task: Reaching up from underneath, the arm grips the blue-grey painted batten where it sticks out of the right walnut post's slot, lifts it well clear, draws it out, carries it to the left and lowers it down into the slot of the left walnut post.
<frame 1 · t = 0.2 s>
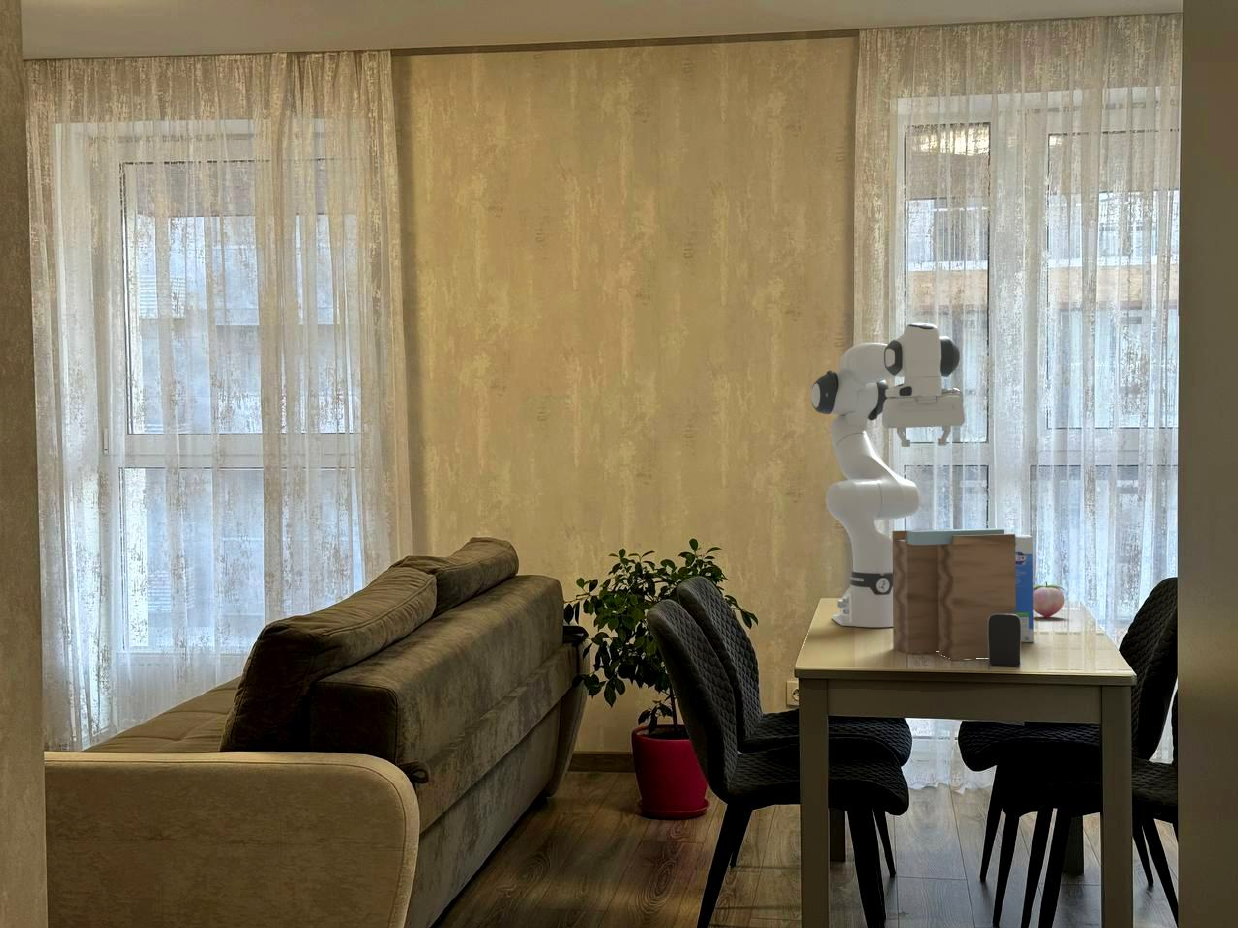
hand: (924, 446, 310), 48 cm above the table, tool pointing down, fingers open, 8 cm apart
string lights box: (1004, 640, 313), on the table
right post: (977, 656, 291), on the table
left post: (930, 649, 301), on the table
batten: (955, 543, 289), point 26 cm above the table, touching right post
decorative fruit: (1046, 618, 351), on the table
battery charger: (1004, 665, 279), on the table
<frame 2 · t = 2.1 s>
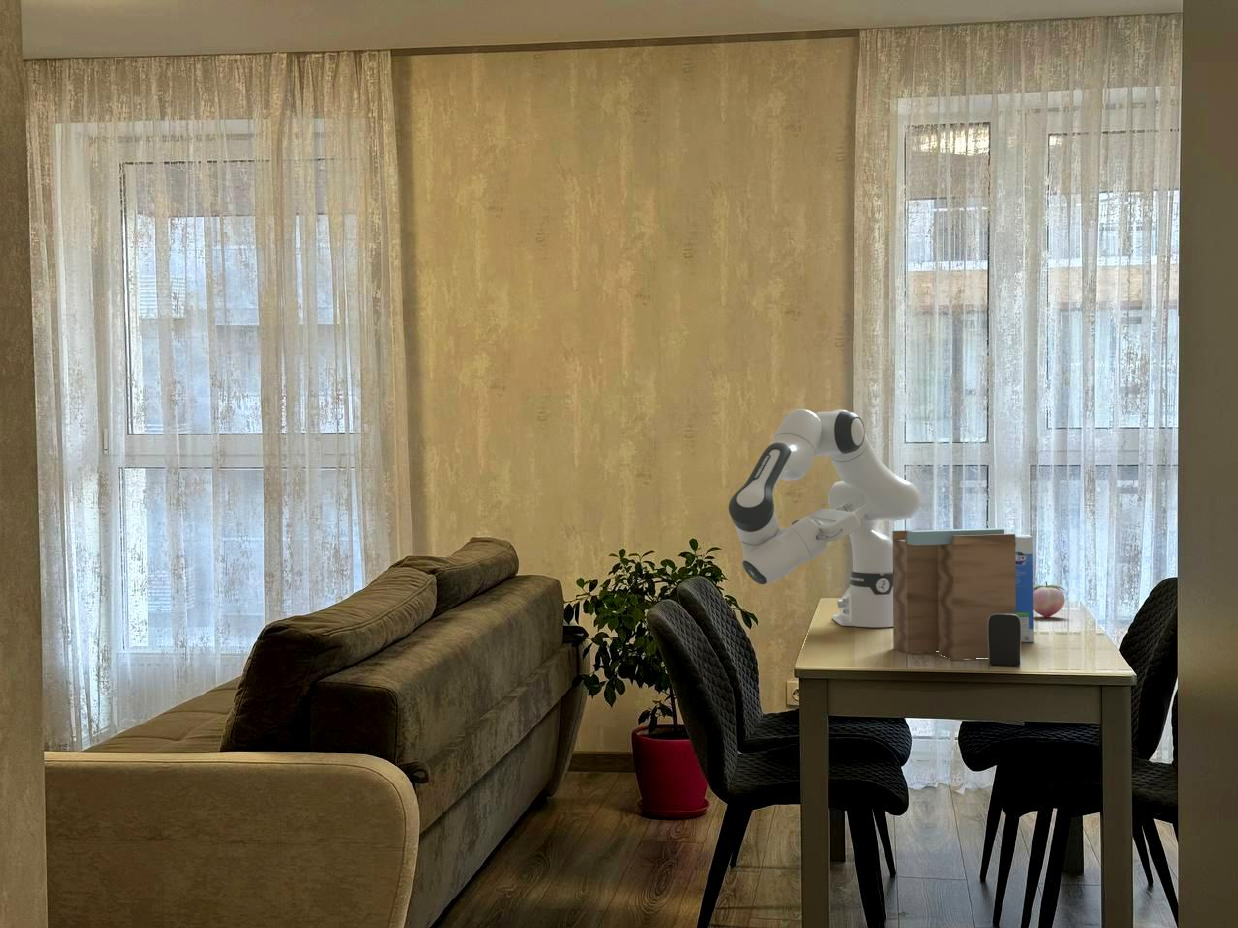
hand: (859, 505, 291), 35 cm above the table, tool pointing upward, fingers open, 8 cm apart
nothing on the table moved.
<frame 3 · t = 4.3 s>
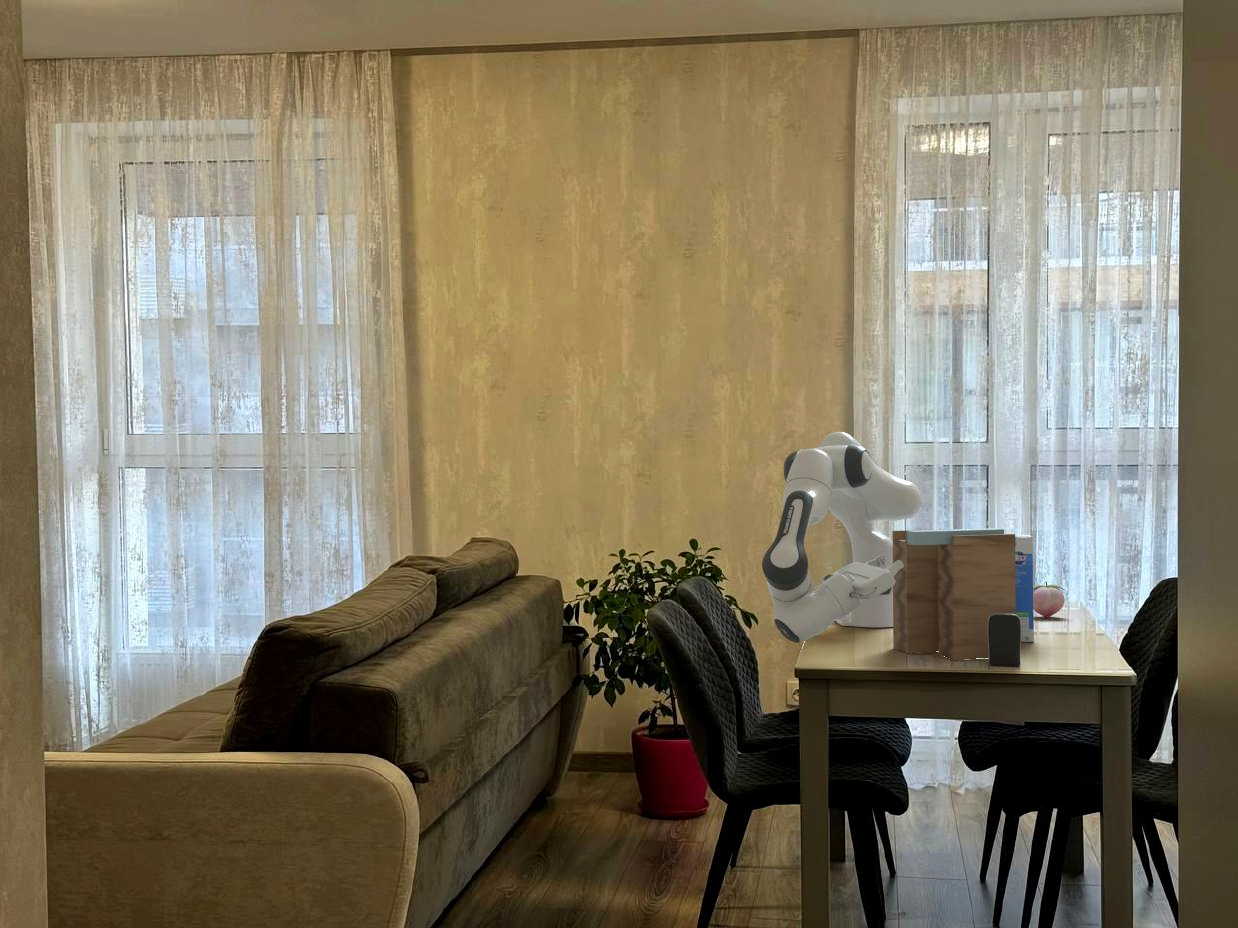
hand: (892, 560, 286), 23 cm above the table, tool pointing upward, fingers open, 8 cm apart
nothing on the table moved.
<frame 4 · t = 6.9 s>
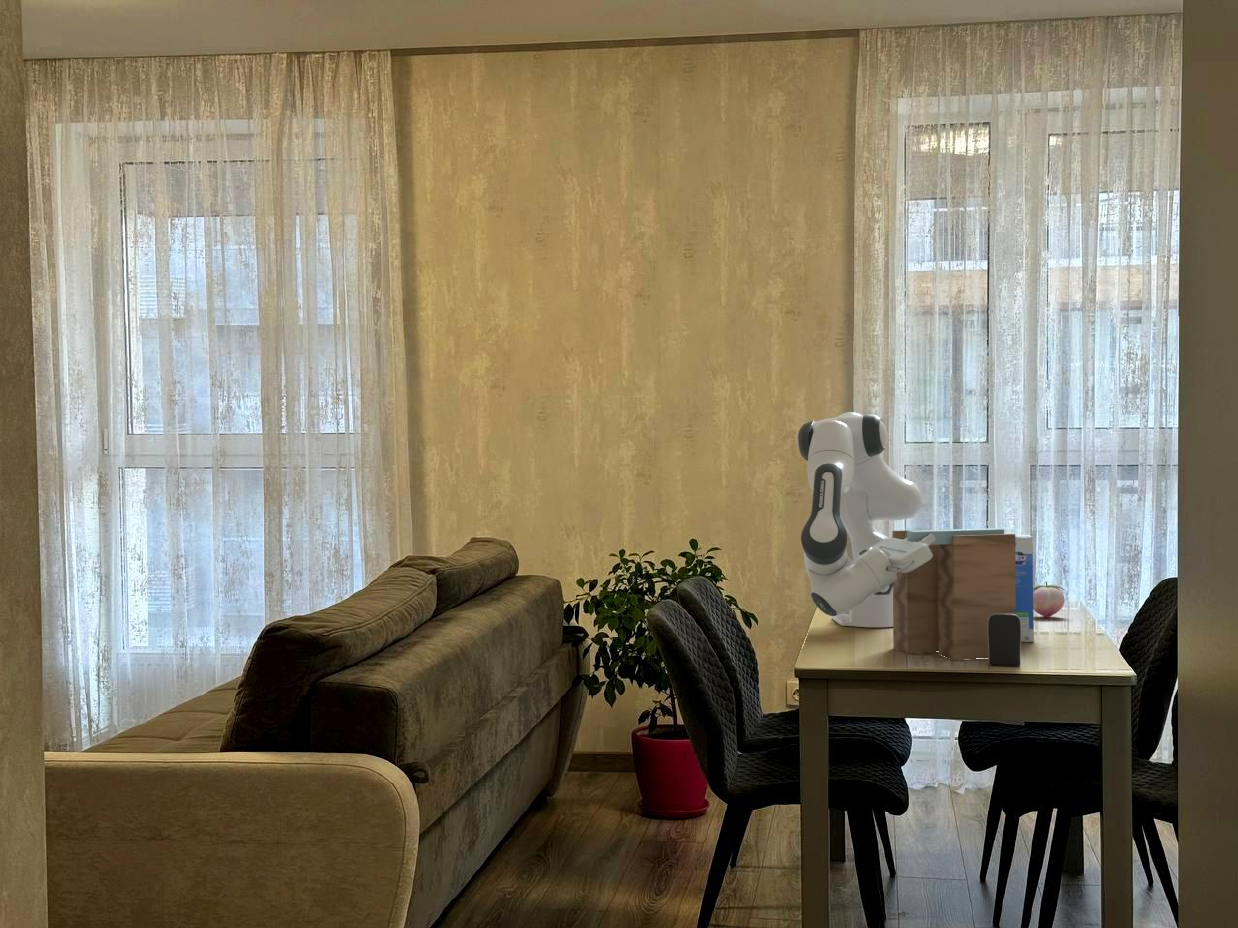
hand: (928, 535, 288), 28 cm above the table, tool pointing upward, fingers closed on batten, 3 cm apart
batten: (956, 543, 289), point 26 cm above the table, touching gripper, right post
everything else where it was.
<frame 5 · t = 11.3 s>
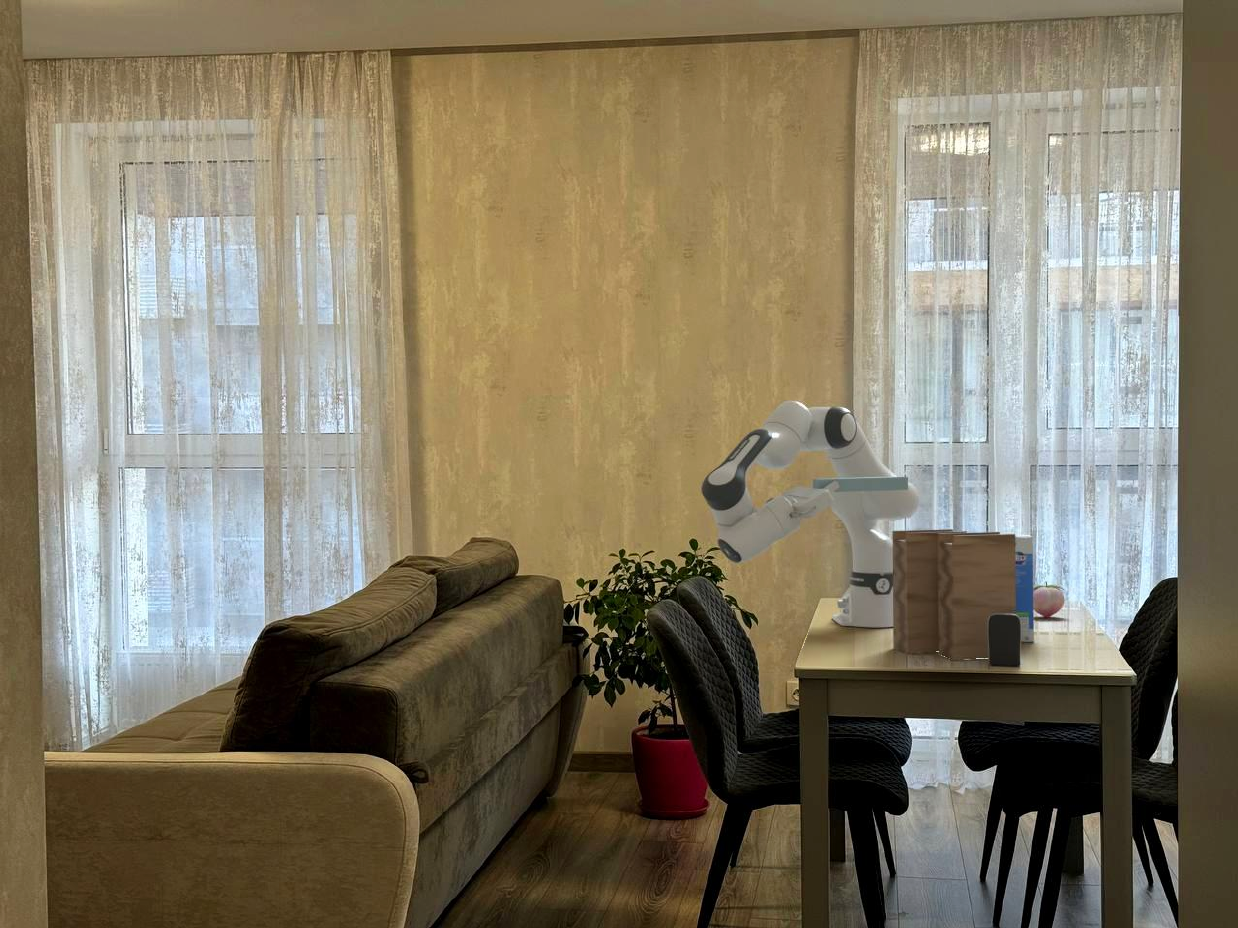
hand: (833, 483, 293), 40 cm above the table, tool pointing upward, fingers closed on batten, 3 cm apart
batten: (860, 490, 294), point 38 cm above the table, touching gripper
everything else where it was.
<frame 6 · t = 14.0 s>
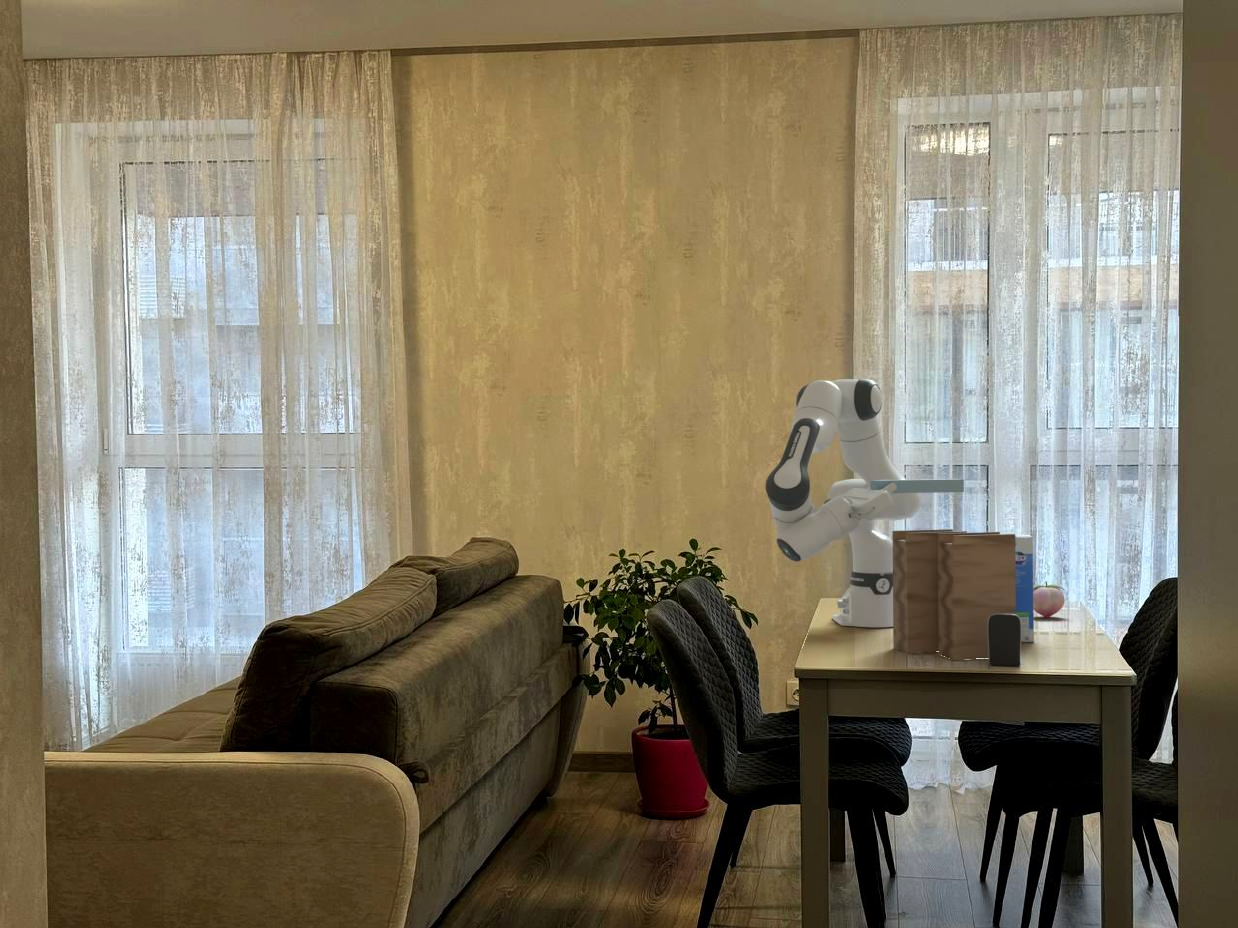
hand: (890, 484, 298), 39 cm above the table, tool pointing upward, fingers closed on batten, 3 cm apart
batten: (917, 492, 299), point 37 cm above the table, touching gripper
everything else where it was.
when the fingers open (30 cm above the table, at t = 16.1 s): batten drops 2 cm, resting on left post.
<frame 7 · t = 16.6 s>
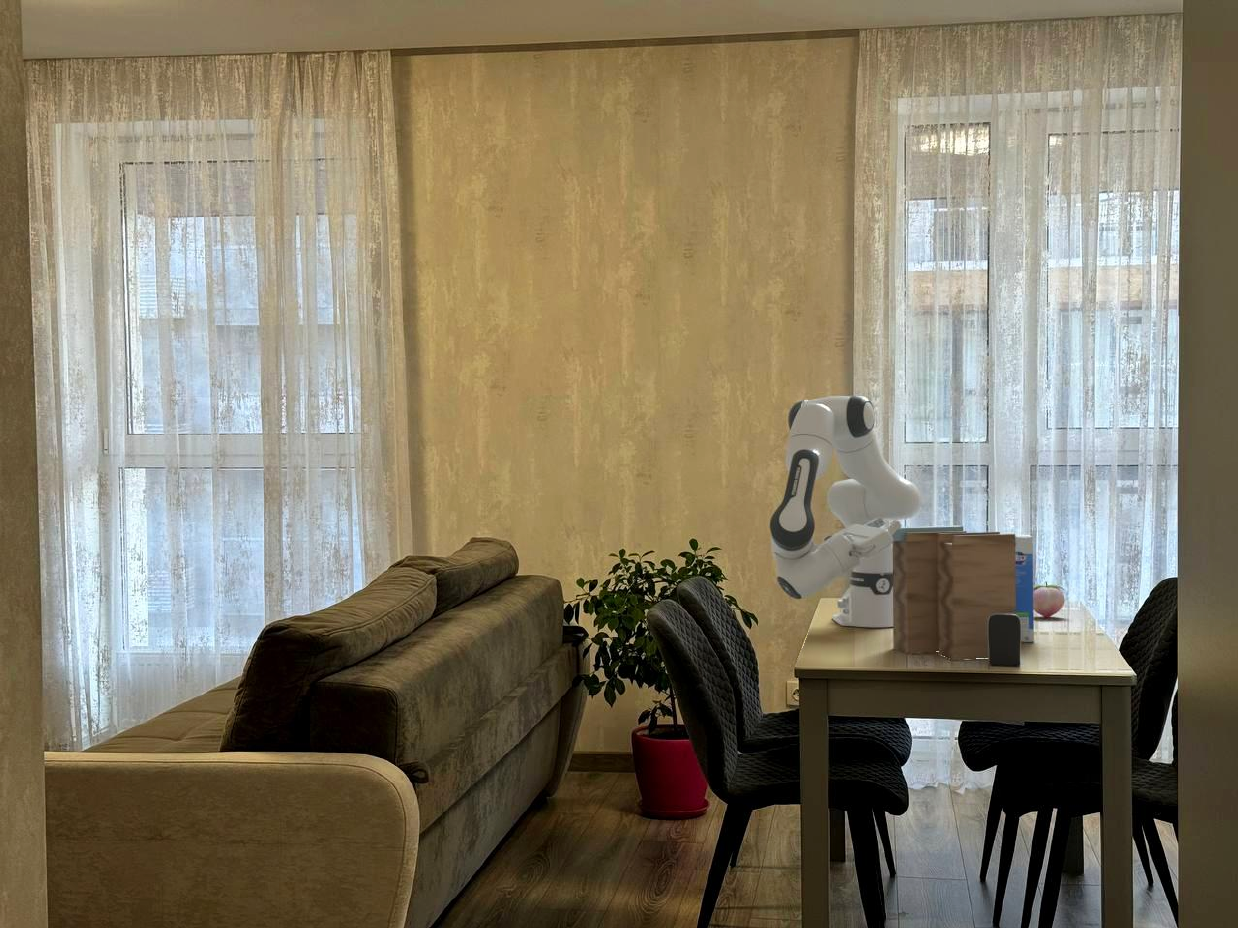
hand: (890, 521, 298), 30 cm above the table, tool pointing upward, fingers open, 8 cm apart
batten: (916, 539, 299), point 26 cm above the table, touching left post
everything else where it was.
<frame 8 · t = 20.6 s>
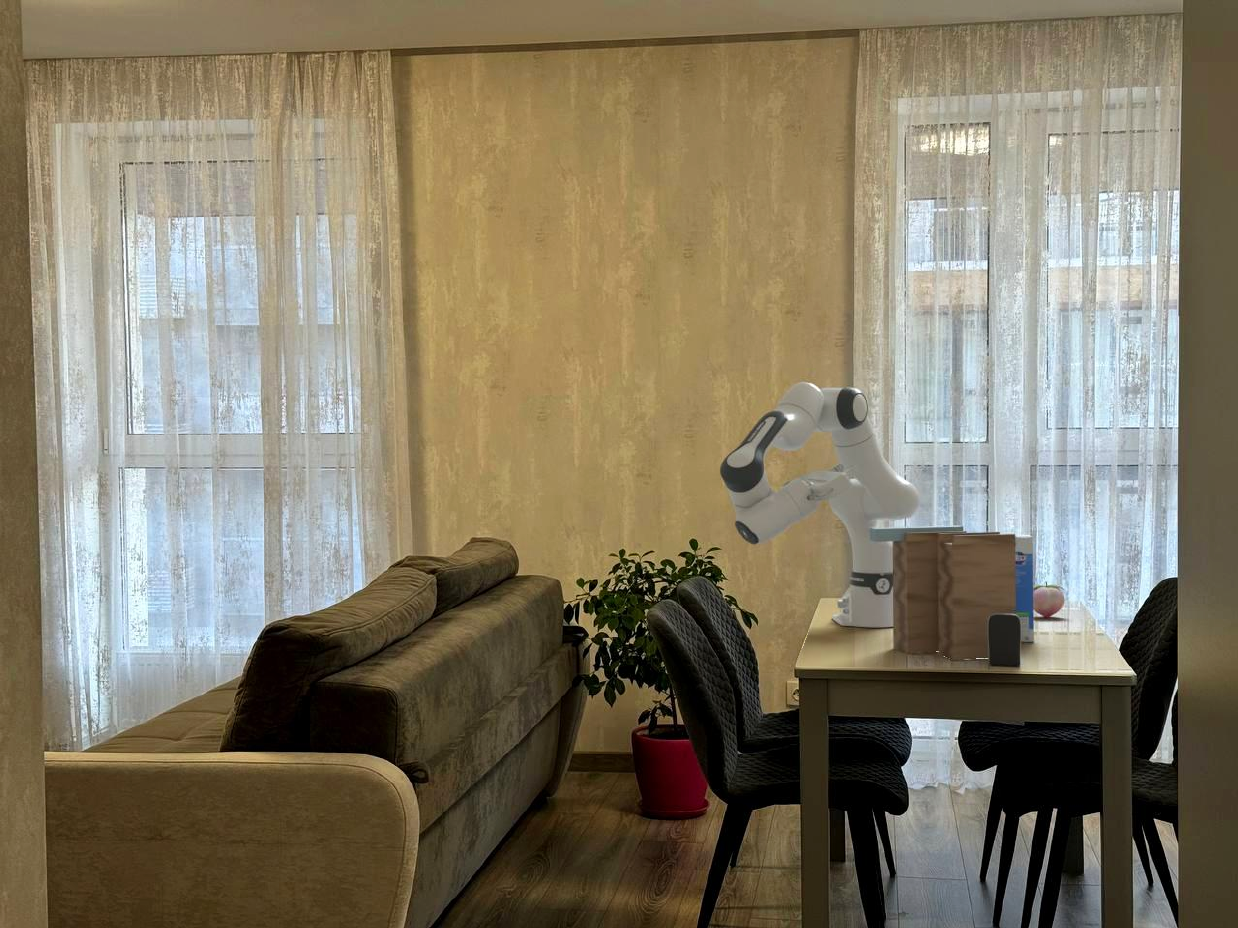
hand: (849, 467, 296), 43 cm above the table, tool pointing upward, fingers open, 8 cm apart
nothing on the table moved.
at the end: batten inside the target area (1.5 cm from its centre), point 26.0 cm above the table; batten tilted 0°; the gripper is holding nothing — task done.
